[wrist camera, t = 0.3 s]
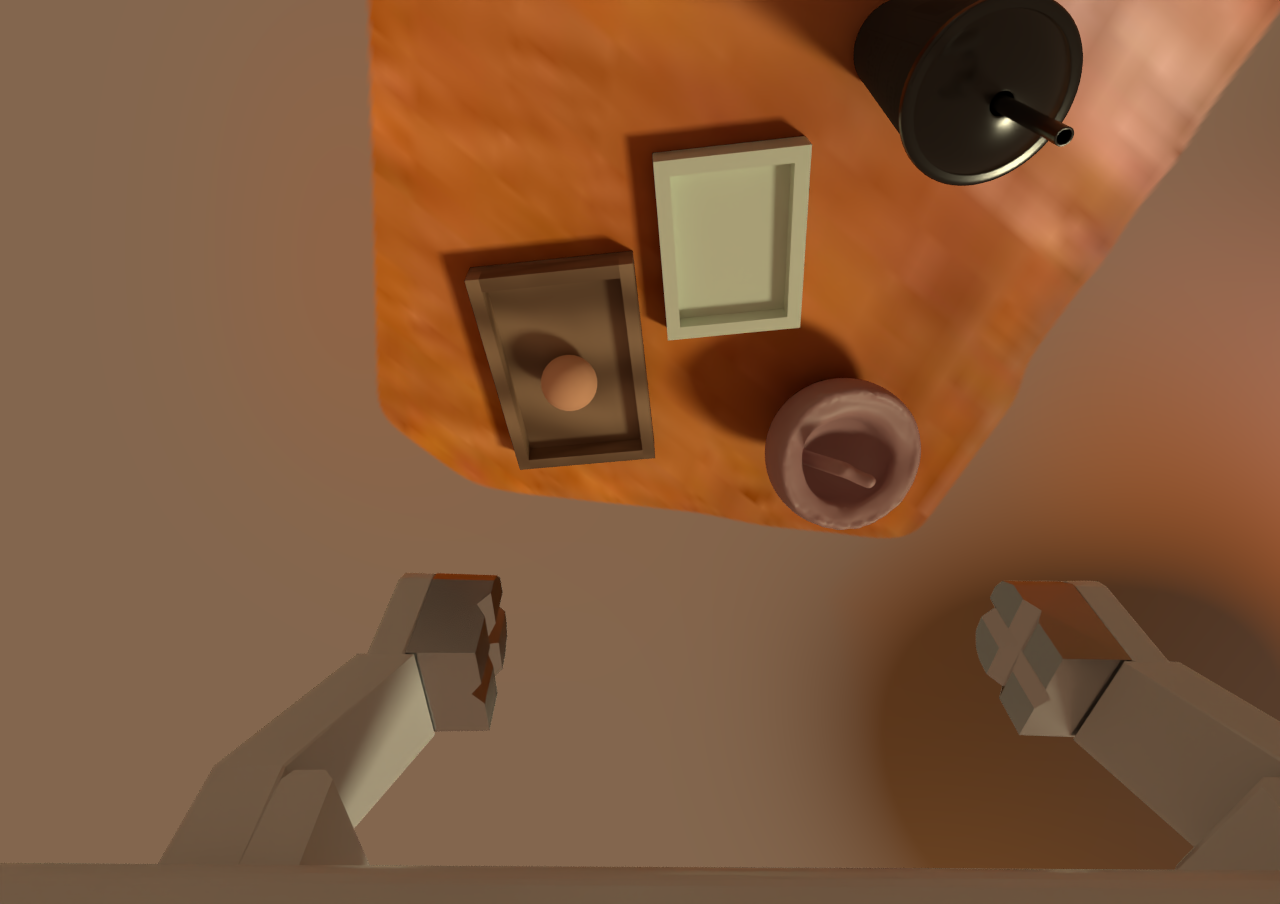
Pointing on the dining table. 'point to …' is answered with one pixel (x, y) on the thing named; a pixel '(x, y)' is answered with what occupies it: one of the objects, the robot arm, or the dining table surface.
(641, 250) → the dining table surface
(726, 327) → the tray
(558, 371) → the ball
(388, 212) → the dining table surface
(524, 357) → the dish
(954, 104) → the drinking cup
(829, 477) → the mortar and pestle
